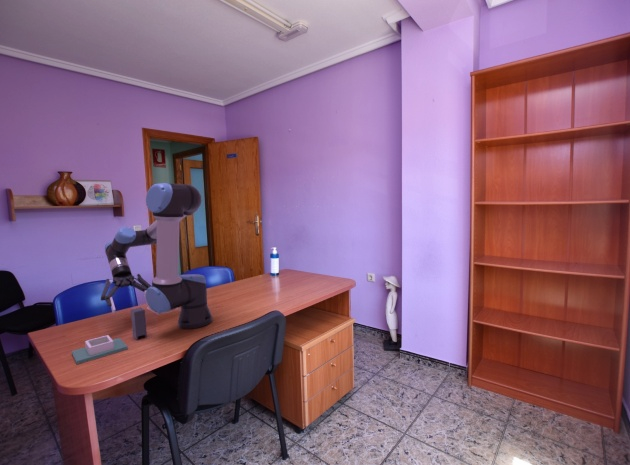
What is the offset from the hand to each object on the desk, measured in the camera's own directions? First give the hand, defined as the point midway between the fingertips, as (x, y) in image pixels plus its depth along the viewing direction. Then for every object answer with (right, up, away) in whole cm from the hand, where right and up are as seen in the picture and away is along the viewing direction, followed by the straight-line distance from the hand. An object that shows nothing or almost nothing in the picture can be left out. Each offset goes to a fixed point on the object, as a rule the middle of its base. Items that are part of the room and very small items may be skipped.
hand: (132, 307), depth 138 cm
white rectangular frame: (-4, -9, +35) cm, 36 cm away
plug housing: (+5, -12, -3) cm, 13 cm away
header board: (-3, -13, -16) cm, 21 cm away
